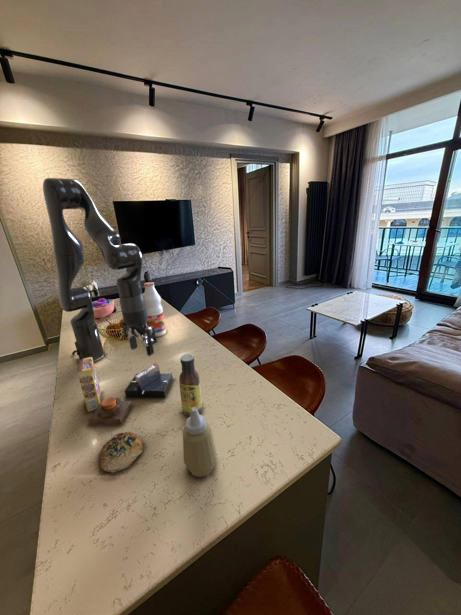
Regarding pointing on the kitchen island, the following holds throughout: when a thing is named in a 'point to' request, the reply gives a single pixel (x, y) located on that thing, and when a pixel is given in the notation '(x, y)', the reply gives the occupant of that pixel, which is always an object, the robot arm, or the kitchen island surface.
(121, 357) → the kitchen island surface
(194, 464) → the squeeze bottle
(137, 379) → the silver flat block
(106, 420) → the button block
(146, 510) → the kitchen island surface
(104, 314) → the soup bowl
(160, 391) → the tap base
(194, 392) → the sauce bottle
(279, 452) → the kitchen island surface
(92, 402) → the candy box
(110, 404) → the button
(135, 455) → the bread roll
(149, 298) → the fruit juice
